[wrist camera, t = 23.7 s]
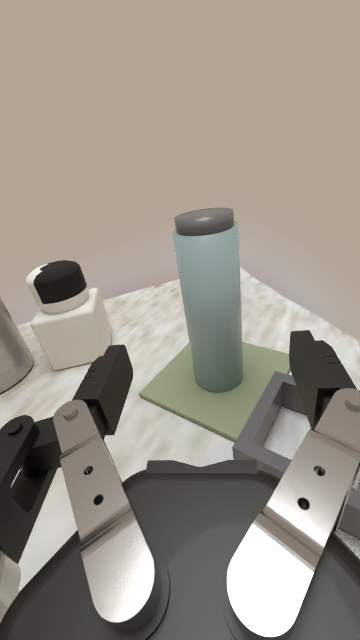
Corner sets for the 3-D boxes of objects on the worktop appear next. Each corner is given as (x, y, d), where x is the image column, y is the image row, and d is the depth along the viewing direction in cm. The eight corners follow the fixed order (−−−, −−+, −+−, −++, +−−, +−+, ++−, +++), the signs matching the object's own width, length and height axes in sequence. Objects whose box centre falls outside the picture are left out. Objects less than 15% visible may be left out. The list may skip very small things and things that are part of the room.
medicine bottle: (112, 329, 41) (86, 251, 35) (109, 359, 35) (76, 270, 29) (64, 340, 41) (29, 262, 35) (53, 372, 35) (7, 284, 29)
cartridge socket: (234, 471, 21) (232, 447, 19) (274, 394, 26) (275, 370, 25) (370, 545, 16) (381, 520, 14) (383, 432, 22) (393, 405, 20)
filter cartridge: (186, 383, 28) (157, 223, 20) (207, 355, 32) (190, 208, 24) (232, 398, 26) (220, 222, 18) (250, 365, 29) (247, 205, 21)
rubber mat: (140, 396, 29) (139, 393, 29) (200, 334, 37) (200, 331, 36) (250, 449, 22) (250, 445, 22) (295, 359, 30) (295, 355, 30)
